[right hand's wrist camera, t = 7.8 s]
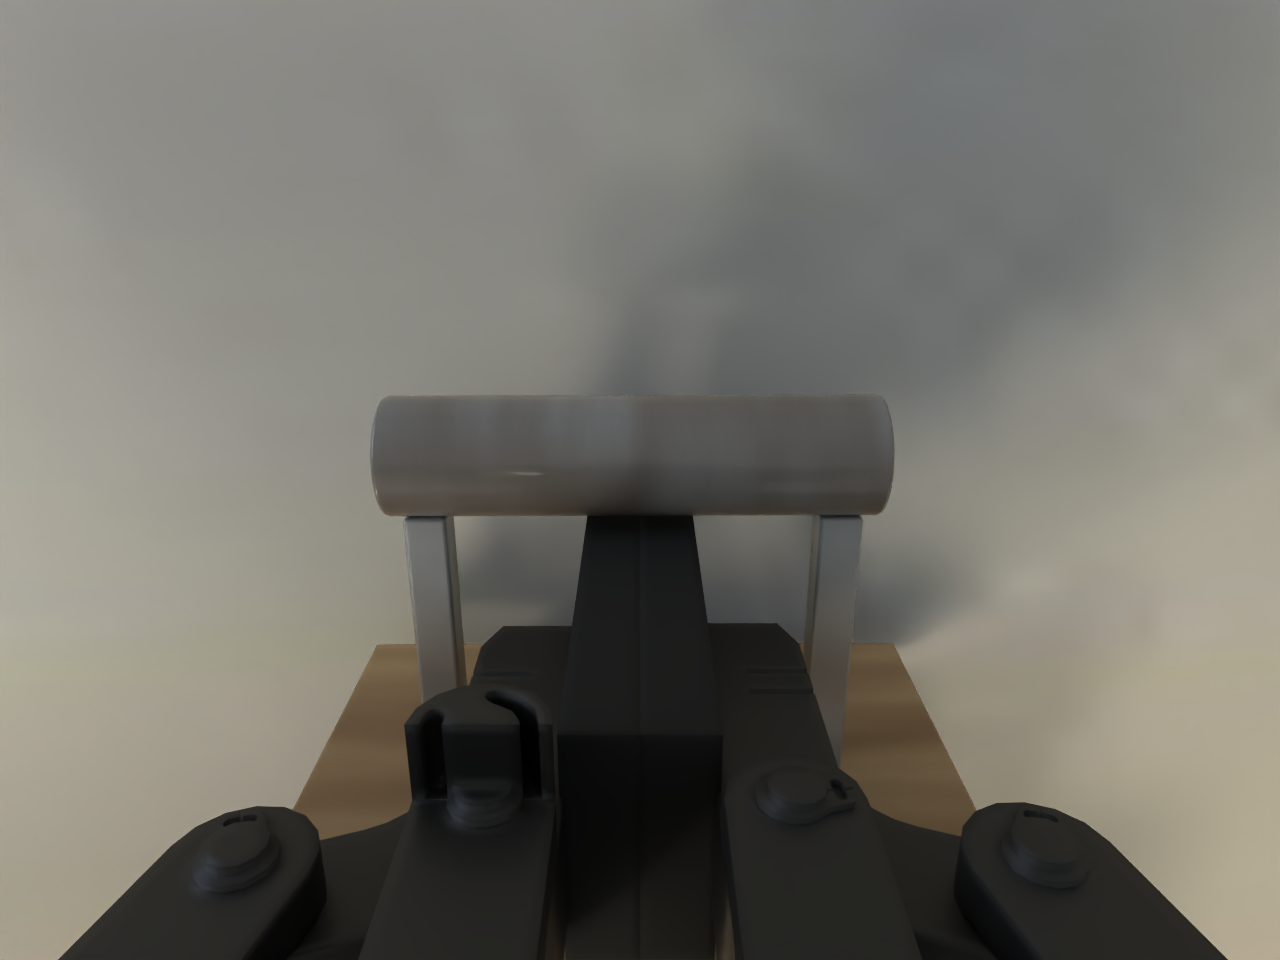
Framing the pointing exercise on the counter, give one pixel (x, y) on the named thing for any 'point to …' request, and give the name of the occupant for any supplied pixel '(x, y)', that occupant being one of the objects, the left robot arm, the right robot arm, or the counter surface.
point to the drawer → (636, 486)
